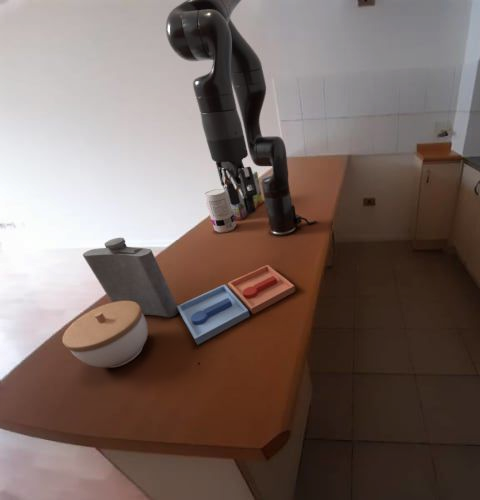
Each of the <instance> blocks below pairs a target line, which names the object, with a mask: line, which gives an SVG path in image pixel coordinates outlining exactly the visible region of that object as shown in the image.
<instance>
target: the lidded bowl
mask: <svg viewBox="0 0 480 500" xmlns="http://www.w3.org/2000/svg"><path fill="white" fill-rule="evenodd" d="M148 335H149V327H148V321H147V318H146V317H145V315H144V314H143V313H142V309H141V307H140V306H139V304H138V303H136V302H133V301H117V302H109V303H106V304H103V305H100V306H97V307H96V308H93V309H91V310H89V311H88V312H86V313H84V314H83V315H81V316H80V317H79V318H77V319H75V320H74V321H73V322H72V323H71V324H70V325H69V326H68V327H67V328H66V330H65V331H64V333H63V335H62V339H61V341H62V344H63V346H64V347H65V348H66V349H67V350H69V352H71V354H72V355H73V356H74V357H75V358H77V359H78V360H79V361H81V363H83V364H85V365H88V366H90V367H94V368H118V367H121V366H124V365H126V364H129V363H130V362H131V361H133V360H134V359H136V357H137V356H139V355H140V353H141V352H142V350H143V349H144V345H145V344H146V342H147V340H148Z"/></svg>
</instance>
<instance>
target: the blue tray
mask: <svg viewBox="0 0 480 500" xmlns="http://www.w3.org/2000/svg"><path fill="white" fill-rule="evenodd" d="M226 298H229V300H230V301H231V303H232V306H231V307H229V308H227V309H225V310H223V311H221V312H219V313H217V314H215V315H214V316H212V317H210V318H208V320H207V321H206V322H205V323H203V324H200V325H194V324H193V323H192V320H191V316H192V315H193V314H194V313H196V312H198V311H202V310H203V311H204V309H206V308H208V307H210V306H212V305H214V304H216V303H218V302H220V301H222V300H224V299H226ZM177 308H178V310H179V312H178V313H179V314H180V317H181V318H182V320H183V322H184V323H185V325H186V327H187V328H188V331H189V333H190V334H191V336H192V338H193V340H194V341H195V343H196V345H201V344H202V343H204V342H206V341H208V340H210V339H211V338H213V337H215V336H216V335H218V334H220V333H222V332H224V331H226V330H227V329H230V328H231V327H233V326H234V325H236V324H239V323H240V322H242V321H244V320H246V319H248V318H249V317H251V315H250V311H249V309H248V308H247V307H246V306H245V305H244V304H243V303H242V302H241V301H240V299H239V298H238V297H237V296H236V295H235V294H234V293H233V292H232V291H231V289H230V288H229V286H228V285H226V284H222V285H220V286H218V287H216V288H214V289H210V290H209V291H207V292H205V293H203V294H200V295H198V296H196V297H193V298H192V299H189V300H187V301H186V302H182V303H181V304H179V305H177Z"/></svg>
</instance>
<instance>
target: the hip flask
mask: <svg viewBox="0 0 480 500" xmlns="http://www.w3.org/2000/svg"><path fill="white" fill-rule="evenodd" d="M82 257H83V258H84V260H85V261H86V263H87V265H88V267H89V268H90V270H91V271H92V273H93V275H94V276H95V278H96V279H97V281H98V283H99V284H100V286H101V288H102V289H103V291H104V293H105V294H106V295H107V297H108V299H109V300H110V303H112V302H117V301H133V302H136V303H138V304H139V306H140V307H141V309H142V313H143V315H144V316H146V315H147V316H159V317H164V318H173V317H175V316H177V315H178V314H179V313H180V312H179V310H178V308H177V306H178V305H177V303H176V300H175V298H174V296H173V294H172V291H171V289H170V287H169V285H168V282H167V281H166V278H165V277H164V274H163V273H162V272H163V271H162V270H161V268H160V265H159V263H158V261H157V260H156V257H155V255H154V252H153V250H152V249H151V248H146V247H136V246H134V247H133V246H127V244H126V240H125V238H124V237H114V238H112V239H109V240H107V241H105V242H104V247H98V248H93V249H89V250H87V251H85V252H84V253H82Z"/></svg>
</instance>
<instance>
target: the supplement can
mask: <svg viewBox="0 0 480 500" xmlns="http://www.w3.org/2000/svg"><path fill="white" fill-rule="evenodd" d="M204 202H205V204H206V207H207V208H206V209H207V211H208V214H209V218H210V220H211V223H212V226H213V230H214V231H215V232H217V233H220V234H221V233H222V234H223V233H228V232H232V231H233V230H234V229H236V227H237V223H236V220H235V219H234V215H233V212H232V208H231V204H230V201H229V197H228V194H227V193H226V191H225V190H224V188H216V189H212V190H209V191H206V192H205V193H204Z"/></svg>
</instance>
